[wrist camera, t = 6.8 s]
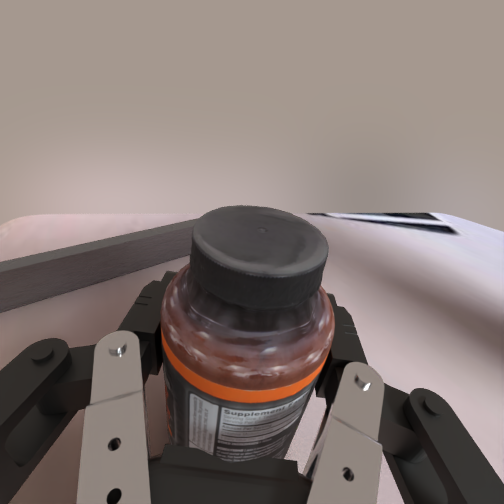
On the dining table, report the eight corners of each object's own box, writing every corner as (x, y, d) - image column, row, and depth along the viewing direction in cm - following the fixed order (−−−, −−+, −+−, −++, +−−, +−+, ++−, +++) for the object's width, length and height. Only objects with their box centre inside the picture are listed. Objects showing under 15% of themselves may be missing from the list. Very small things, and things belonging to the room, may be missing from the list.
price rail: (217, 237, 30) (219, 212, 29) (226, 243, 30) (228, 217, 28) (-31, 307, 18) (-52, 270, 17) (-30, 321, 17) (-51, 284, 16)
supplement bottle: (178, 372, 16) (175, 184, 10) (278, 375, 17) (329, 200, 11) (154, 506, 11) (121, 287, 5) (298, 502, 12) (412, 303, 6)
